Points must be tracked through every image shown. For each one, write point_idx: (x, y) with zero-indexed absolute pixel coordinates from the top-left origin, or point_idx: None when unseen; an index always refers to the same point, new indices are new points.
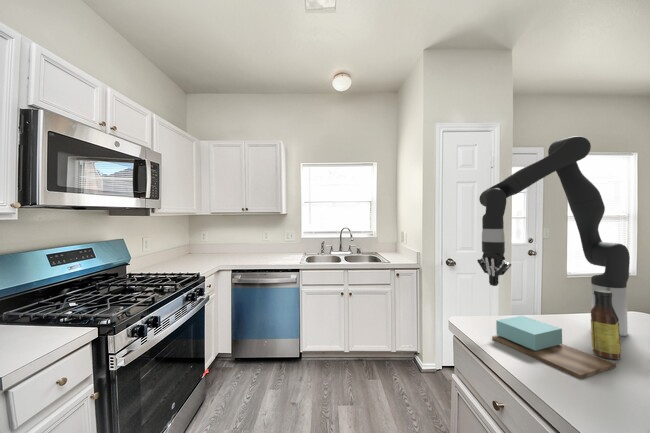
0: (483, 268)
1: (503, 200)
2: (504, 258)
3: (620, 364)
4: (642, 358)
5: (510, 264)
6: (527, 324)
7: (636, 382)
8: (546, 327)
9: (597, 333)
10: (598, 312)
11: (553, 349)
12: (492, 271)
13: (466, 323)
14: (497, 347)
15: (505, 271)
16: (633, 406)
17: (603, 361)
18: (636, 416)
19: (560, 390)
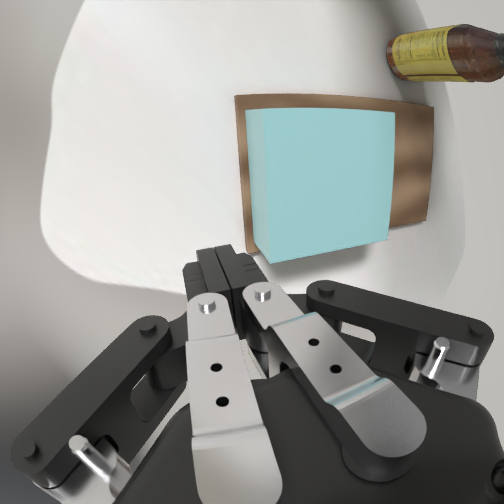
0: (147, 412)
1: None
2: (485, 422)
3: (425, 84)
4: (420, 15)
5: (486, 335)
6: (338, 185)
7: (452, 141)
8: (376, 150)
9: (442, 80)
10: (491, 79)
11: None
12: (268, 375)
13: (105, 244)
14: (290, 272)
15: (384, 303)
16: (459, 220)
17: (424, 118)
18: (461, 239)
19: (415, 278)
